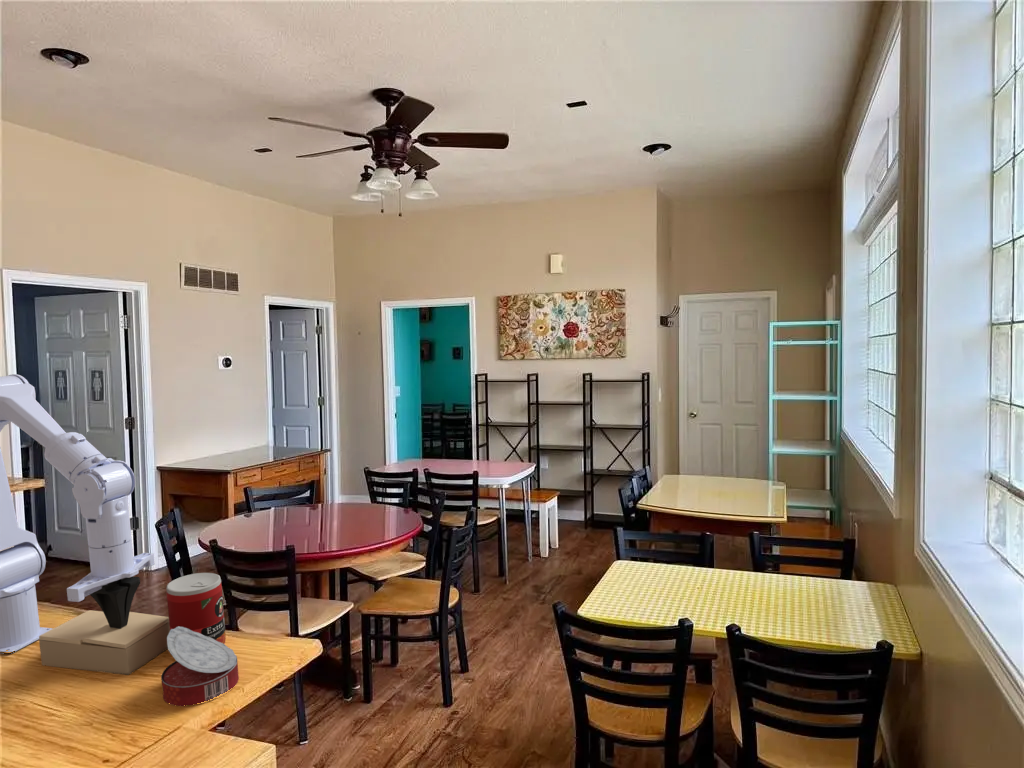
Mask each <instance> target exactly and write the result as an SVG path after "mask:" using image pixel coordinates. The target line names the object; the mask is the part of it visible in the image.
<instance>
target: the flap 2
mask: <svg viewBox="0 0 1024 768" xmlns="http://www.w3.org/2000/svg"><path fill="white" fill-rule="evenodd" d="M168 622H169V616H163V615H157V614H150V613H140V612H133V611H130V613H129V618H128V623H127V625H126V626H125V627H123V628H121V629H117V628H110V626H109V624H107V625H105V626H103V627H101V628H100V629H98V630H96V631H94V632H93V633H91V634H89V635H87V636H85V637H84V638H82V640H83V642H86V643H93V644H99V645H105V646H112V647H118V648H125V649H126V648H127V647H129V646H131V645H132V644H134V643H135V642H137V641H139V640H140V639H142V638H143V637H145V636H147V635H148V634H150V633H151V632H153V631H155V630H156V629H158V628H160V627H161V626H163V625H164V624H166V623H168Z"/></svg>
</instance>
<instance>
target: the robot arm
mask: <svg viewBox="0 0 1024 768" xmlns="http://www.w3.org/2000/svg"><path fill="white" fill-rule="evenodd" d="M35 388H36V387H35V386H33V384H30V382H29V381H28V379H26V377H24V376H22V375H20V374H17V373H16V374H8V375H4V376H3V375H2V376H0V433H1V431H2V430H3V429H4V427H5V426H7V425H9V424H11V423H12V424H14V425H15V426H16V427H18V428H19V429H21V431H22V432H24V433H26V434H27V435H28V436H30V438H32V439H33V440H34V441H36V442H37V443H38V444H40V445H41V446H42V447H44V448H45V449H44V458H45V460H46V462H48V463H49V464H50V465H51V466H53V467H54V469H55V470H56V471H58V472H59V473H60V474H61V475H62V476H63V477H64V478H65V479H66V480H68V481H69V482H70V483H71V484H72V485H73V487H72V488H71V491H72V494H73V497H74V500H75V501H76V502H77V503H78V505H79V507H80V508H79V509H80V515H82V518H83V519H85V527H86V537H87V545H88V553H89V554H88V556H89V557H88V558H89V564H90V566H89V567H90V572H89V573H88V574H87V575H85V576H84V577H82V578H81V579H80V580H78V581H77V582H75V583H74V584H73V585H70V586H68V587H67V588H66V593H67V594H66V597H67V601H68V602H73V603H74V602H77V603H80V602H81V601H83V600H85V597H88V596H91V598H92V599H93V600H94V601H95V602H96V604H97V605H98V606H99V608H100V609H101V611H102V612H103V613H104V615H105V617H106V619H107V621H108V624H109V626H110V628H117V629H121V628H123V627H125V626H126V625H127V623H128V618H129V613H130V612H131V607H132V604H133V600H134V597H135V594H136V592H137V591H138V588H139V587H140V585H141V578H140V576H139V577H138V576H136V575H138V574H139V573H140V572H139V571H140V570H143V569H145V568H146V567H148V568H151V567H152V566H155V553H151V552H142V553H140V554H137V555H134V552H133V539H132V528H131V518H130V509H129V508H130V507H129V497H128V496H129V495H131V494H132V493H133V492H134V489H135V486H136V476H135V474H134V471H133V469H132V468H131V467H130V465H129V464H128V463H127V462H126V461H123V460H119V459H117V460H115V459H113V458H112V457H109V458H107V456H105V455H104V454H103V453H101V451H100V450H98V449H97V447H95V446H94V445H93V444H92V443H91V442H89V441H88V440H87V438H86V437H85V436H84V435H83V434H82V433H79V432H75V431H70V432H66V431H65V430H64V429H63V428H62V427H61V425H59V423H58V422H57V421H56V420H55V419H54V418H53V417H52V416H51V415H50V414H49V413H48V412H47V411H46V409H44V407H43V406H42V405H41V403H39V402H38V401H37V400H36V389H35ZM46 562H47V560H46V555H45V552H44V551H43V549H42V548H41V546H40V544H39V542H38V539H37V535H36V533H34V532H32V531H29V530H27V529H25V528H21V527H20V526H19V523H18V518H17V513H16V510H15V505H14V500H13V496H12V492H11V487H10V484H9V479H8V474H7V470H6V465H5V462H4V457H3V452H2V449H1V447H0V652H13V651H15V652H18V651H19V650H21V649H23V648H25V647H27V646H28V645H30V644H32V643H34V642H36V641H39V640H40V639H39V636H40V635H42V634H44V633H46V632H48V631H50V630H52V629H54V628H52V627H43V626H40V618H39V609H38V608H39V607H38V599H37V590H36V584H37V583H39V582H40V578H39V577H40V576H41V575H42V574H43V573H44V571H45V569H46ZM6 650H8V651H6ZM13 653H14V652H13Z"/></svg>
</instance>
